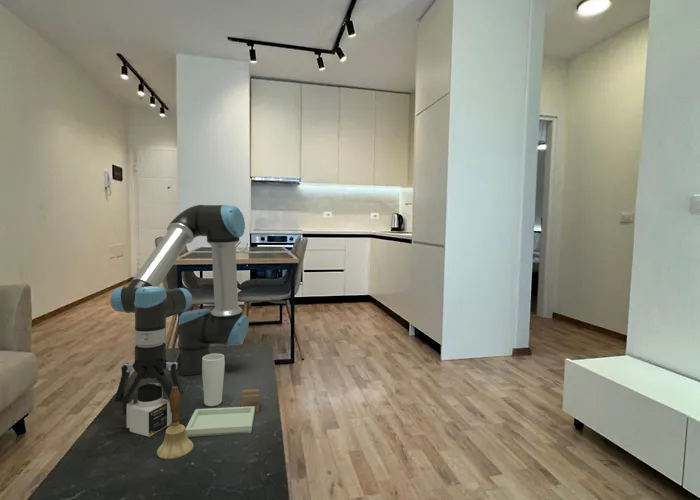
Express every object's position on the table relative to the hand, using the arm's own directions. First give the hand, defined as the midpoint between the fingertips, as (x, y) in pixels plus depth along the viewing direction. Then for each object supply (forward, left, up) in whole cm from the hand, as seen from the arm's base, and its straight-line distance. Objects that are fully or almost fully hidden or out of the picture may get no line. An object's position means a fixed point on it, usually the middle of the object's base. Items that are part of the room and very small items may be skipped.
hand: (150, 424), depth 104 cm
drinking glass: (-14, +14, -1) cm, 20 cm away
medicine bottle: (0, 0, -1) cm, 1 cm away
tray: (0, +19, -1) cm, 19 cm away
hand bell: (+11, +10, -1) cm, 15 cm away
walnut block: (-9, +26, -1) cm, 28 cm away
